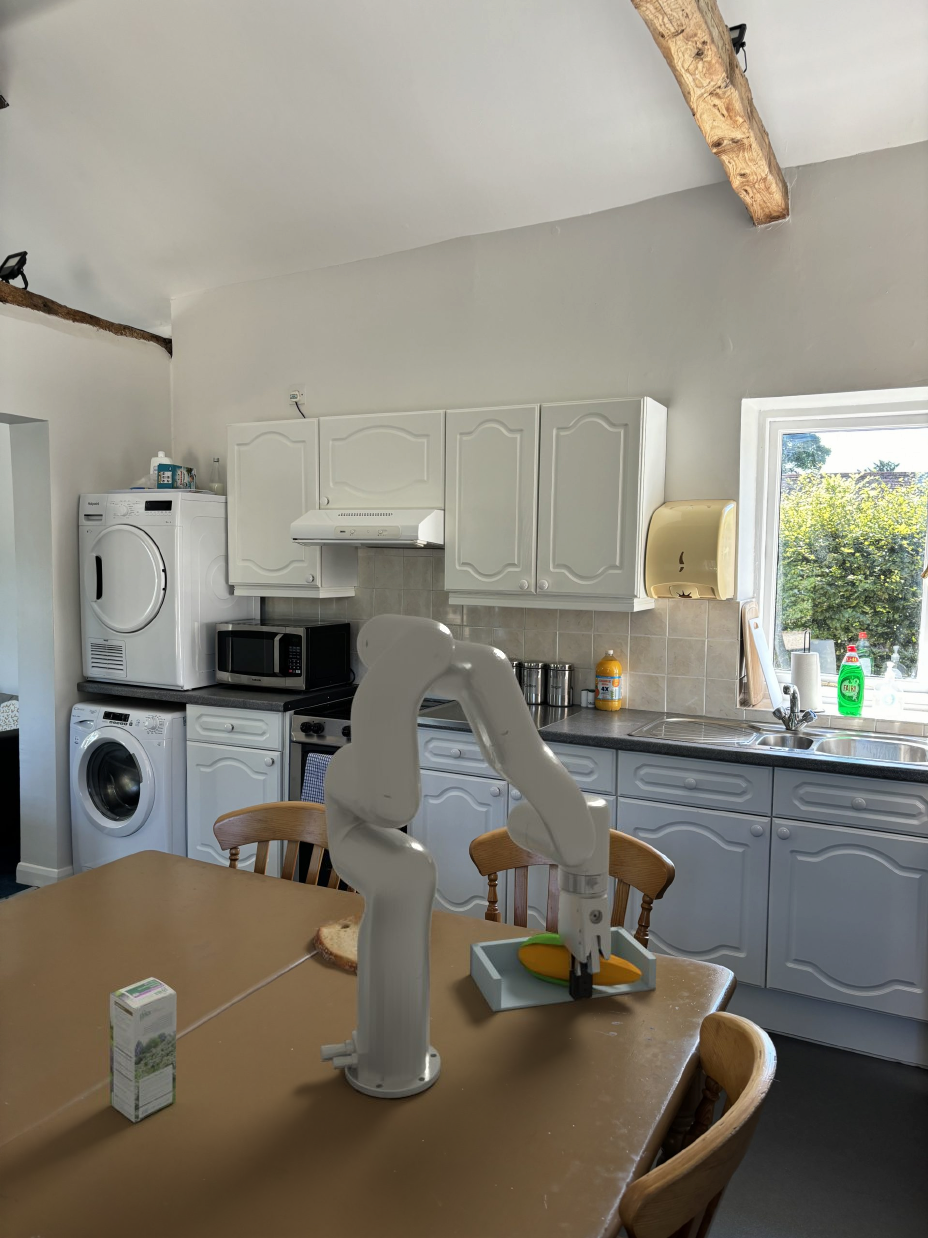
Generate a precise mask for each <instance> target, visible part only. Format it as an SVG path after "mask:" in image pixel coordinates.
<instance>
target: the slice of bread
mask: <svg viewBox="0 0 928 1238" xmlns="http://www.w3.org/2000/svg"><path fill="white" fill-rule="evenodd" d="M362 917H363V915H362V914H360V915H357V914H356V915H353V916H348V917H345V918H342V919H340V920H337V921H334V922H333V923H331V924H330V925H326V926H320V927H319V928H318V929H317V931H316V933H315V934H314V935H315V936H314V938H313V944H314V947H315V950H316V951H317V953H318V954H319V955H320V956H321V957H323V958H324V959H325V960H326V961H327V962H328V963H332V964H335V965H336V966H337V967H339V968H341V969H344V970H346V971H349V972H354V973H356V974H357V940H358V931H359V926H360V923H361V920H362Z"/></svg>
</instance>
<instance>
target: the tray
mask: <svg viewBox="0 0 928 1238" xmlns="http://www.w3.org/2000/svg"><path fill="white" fill-rule="evenodd" d="M610 928H611V955H613V956H616V957H618V958H621V959H623V960H626V961H628V962H630V963H631V964H633V965H634V966H635V967H636V968H638V969H639V970H640V971H641V973H642V976H641V977H640V979H639V980H638V981H636V982H634V983H629V984H622V985H616V986H595V985H593V988H595V989H596V990H593V989H592V997H591V998H590V999H594V998H602V997H609V996H615V995H623V994H628V993H629V994H630V993H637V992H645V991H651V990H656V987H657V986H656V984H657V957H655V956H654V954H653V953H651V952H650V951H649V950H648V949H647V948H645V947H644V946H643V945H642V944H641V943H640V942H639V941H638V940H637V939H636V938H634V937H633V936H632V935H631V934H630V933H629V932H628V931H626V929H624V928H623V927H622V926H614V927H613V926H610ZM531 937H532V936H526V937H518V938H510V939H501V940H493V941H492V940H491V941H490V940H489V941H483V942H475V943H470V945H469V947H470V949H469V950H470V951H469V954H470V955H469V974H470V977H472V979H473V981H474V982H475V984H476V986H477V987H478V988H479V991H480V992H481V994H482V995H483V997H484V999H485V1000H486V1002H487V1003H488V1005H489V1007H490V1008H491V1010H492V1011H493V1012H494V1013H495V1012H501V1011H508V1010H514V1009H522V1008H530V1007H536V1006H544V1005H551V1004H559V1003H564V1002H573V1001H575V1000H573V999H572V997H571V996H570V995H569V986H566V985H561V984H556V983H552V982H549V981H546V980H543V979H541V978H538V977H536V976H534V975H533V974H531V973H530V972H528V971H527V970H526V969H525V968H524V967H523V966H522V964H521V963H520V961H519V959H518V950H519V948H520V946H521V945H522V944H523V943H524V942H525V941H526V940H527V939H528V938H531Z"/></svg>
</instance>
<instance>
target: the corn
mask: <svg viewBox="0 0 928 1238" xmlns="http://www.w3.org/2000/svg"><path fill="white" fill-rule="evenodd" d="M530 937H531V938H528V939H527V940H526V941H525V942H524V943H523V944H522V945H521V946H520V948H519V950H518V959H519V961H520V963H521V964H522V966H523V967H524V968H525V969H526V970H527V971H528V972H530V973H531V974H533V975H534V976H536V977H538V978H541V979H543V980H546V981H549V982H552V983H556V984H561V985H566V986H569V970H572V969H570V968H569V965H568V949H567V947H566V946H565V945H564V944H563V943H562V941H561V940H560V938H559V934H558V933H556V932H554V933H553V932H543V933H537V934H536V935H533V936H530ZM599 964H600V972H599V973H594V974H593V985H595V986H616V985H622V984H629V983H634V982H636V981H638V980H639V979H640V977H641V976H642V973H641V971H640V970H639V969H638V968H636V967H635V966H634V965H633V964H631V963H630V962H628V961H626V960H623V959H621V958H618V957H616V956H613V955H611V957H610V959H609V960H604V959H603V958H602V957H601V956H600V955H599ZM593 990H596V989H595V988H593Z"/></svg>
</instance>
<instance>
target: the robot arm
mask: <svg viewBox="0 0 928 1238" xmlns="http://www.w3.org/2000/svg"><path fill="white" fill-rule="evenodd" d="M356 650H357V651H356V652H357V654H358V657H359V659H360V660H361V662H362V664H363V665H364V666H365V668H367V669H368V670H367V672H366V673H365V675H364V676H363V678H362V679H361V682H360V683H359V685H358V687H357V689H356V691H355V694H354V697H353V700H352V703H351V709H350V711H351V712H350V739H351V740H350V741H351V742H350V743H347V744H344V746H341V747H340V748H339V749H338V750H337V751H336V752H334V754H333V756H332V757H331V758H330V760H329V762H328V764H327V766H326V770H325V772H324V777H323V799H324V802H323V803H324V810H325V811H324V813H325V822H326V825H325V826H326V832H327V833H326V834H327V836H326V837H327V844H328V852H329V859H330V862H331V865H332V867H333V869H334V872H335V873H336V874H337V876H338V877H339V878H340V879H341V880H342V881H343V882H344V883H345V884H347V885H348V886H349V887H351V889H353V890H354V891H357V893H358V894H359V895H361V896H362V897H363V898H364V911H363V915H362V916H363V917H362V920H361V923H360V926H359V931H358V940H357V973H356V974H357V976H356V981H357V982H356V983H357V984H356V985H357V987H356V999H357V1001H356V1005H357V1006H356V1008H357V1009H356V1014H357V1015H356V1020H357V1021H356V1030H353V1031H351V1039H347V1040H344V1043H339V1044H338V1043H337V1044H328V1045H327V1044H326V1045H321V1046H320V1059H321V1063H327V1062H332V1068H333V1070H335V1071H336V1070H339V1069H344V1075H345V1079H346V1080H347V1082H348V1083H349V1084H350V1086H352V1087H353V1088H354V1089H355V1090H356V1091H359V1092H360V1093H362V1094H366V1095H368V1096H371V1097H374V1098H375V1097H376V1098H382V1099H397V1098H403V1097H404V1098H405V1097H409V1096H411V1095H412V1096H413V1095H416V1094H418V1093H421V1092H422V1091H425V1090H426V1089H428V1088H429V1087H431V1086H432V1085H433V1084H434V1083H435V1082H436V1081H437V1080H438V1079H439V1076H440V1074H441V1067H442V1066H441V1065H442V1062H441V1057H440V1054H439V1053H438V1051H437V1050H436V1049H435V1048H434V1047H433V1046H432V1045H431V1044H430V1024H431V1023H430V1019H431V1018H430V1009H431V1005H430V1004H431V1001H430V1000H431V999H430V998H431V932H432V931H431V929H432V917H433V910H434V905H435V904H434V903H435V901H436V900H435V899H436V895H437V889H438V883H439V882H438V881H439V873H438V867H437V864H436V861H435V859H434V856H433V855H432V854H431V852H430V851H429V849H428V848H427V847H426V846H425V845H423V844H422V843H421V842H420V841H419V840H417V839H415V838H414V837H413V836H411V835H409V834H407V833H405V832H403V831H401V830H400V829H401V828H402V827H405V826H408V825H409V824H410V823H411V822H413V821H414V819H415V818H416V817H417V815H418V813H419V812H420V809H421V805H422V797H423V796H422V795H423V793H422V792H423V791H422V790H423V789H422V788H423V787H422V777H421V775H422V774H421V765H420V764H421V763H420V762H421V761H420V752H419V751H420V750H419V736H418V722H419V721H418V720H419V719H418V718H419V712H420V708H421V705H422V703H423V701H424V699H425V697H426V696H427V694H428V693H429V694H433V695H436V696H440V697H443V698H447V699H451V700H455V701H457V702H458V703H459V705H460V706H461V708H462V710H463V713H464V716H465V717H466V720H467V723H468V725H469V728H470V729H471V731H472V734H473V736H474V739H475V742H476V744H477V746H478V749H479V751H480V754H481V755H482V758H483V760H484V762H485V763H486V765H488V766H489V767H490V768H491V769H492V770H493V771H494V772H495V773H496V774H497V775H498V776H499V777H500V778H501V779H503V780H504V781H505V782H506V783H508V784H509V785H510V786H512V787H513V788H514V789H516V791H518V792H519V793H520V794H521V795H522V796H523V797H524V798H525V800H523V801H522V802H520V803H518V804H516V805H515V806H514V807H513V808H512V809H511V811H510V812H509V814H508V816H507V819H506V831H507V834H508V836H509V837H510V839H511V840H512V841H513V843H514V844H515V845H517V846H518V847H519V848H521V849H524V850H525V851H527V852H530V853H531V854H534V855H536V856H539V857H542V858H543V859H546V860H548V861H550V862H552V863H553V864H556V865H558V871H557V872H558V876H557V878H558V880H557V889H558V890H559V898H558V900H559V901H558V911H557V914H558V915H557V931H558V932H557V934H559V938H560V940H561V941H562V943H563V944H564V945H565V946H566V947H567V949H568V965H569V968H570V969H572V970H569V995H570V996H571V997H572V999H573V1000H574V1001H580V1000H587V999H592V998H591V997H592V989H593V974H594V973H599V972H600V964H599V955H600V956H601V957H602V958H603V959H604V960H609V959H610V957H611V915H610V912H611V911H610V904H609V899H608V897H609V896H608V895H607V893H608V892H609V877H610V876H609V872H610V871H609V870H610V869H609V867H610V838H611V837H610V833H611V832H610V831H611V830H610V828H611V827H610V826H611V807H610V806H609V803H608V802H607V801H606V800H605V799H603V798H602V797H599V796H596V795H590V794H583V791H582V790H581V788H580V786H579V785H578V783H577V781H576V780H575V779H574V777H573V776H572V774H571V773H570V772H569V771H568V769H567V768H566V767H565V766H564V764H563V763H562V762H561V761H560V760H559V758H558V757H557V755H556V754H555V753H554V752H553V751H552V749H551V748H550V747H549V746H548V745H547V743H546V742H545V741H544V740H543V739H542V737H541V735H540V734H539V731H538V730H537V726H536V725H535V721H534V720H533V717H532V715H531V714H532V713H531V711H530V708H529V707H528V704H527V702H526V699H525V697H524V694H523V691H522V689H521V686H520V684H519V681H518V678H517V675H516V674H515V671H514V668H513V666H512V664H511V661H510V659H509V658H508V657H507V655H506V654H505V653H504V652H502V650H500V649H498V648H497V647H494V646H491V645H487V644H483V643H479V642H471V641H470V642H469V641H464V640H458V639H455V638H454V635H453V633H452V632H451V630H450V629H449V628H448V627H447V626H446V625H445V624H443V623H442V622H439V621H437V620H434V619H432V618H429V617H425V616H424V617H423V616H415V615H403V614H396V613H395V614H394V613H384V614H378V615H376V616H372V618H370V619H368V621H366V622H365V623H364V624H363V626H362V627H361V628H360V630H359V632H358V635H357V638H356Z"/></svg>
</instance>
